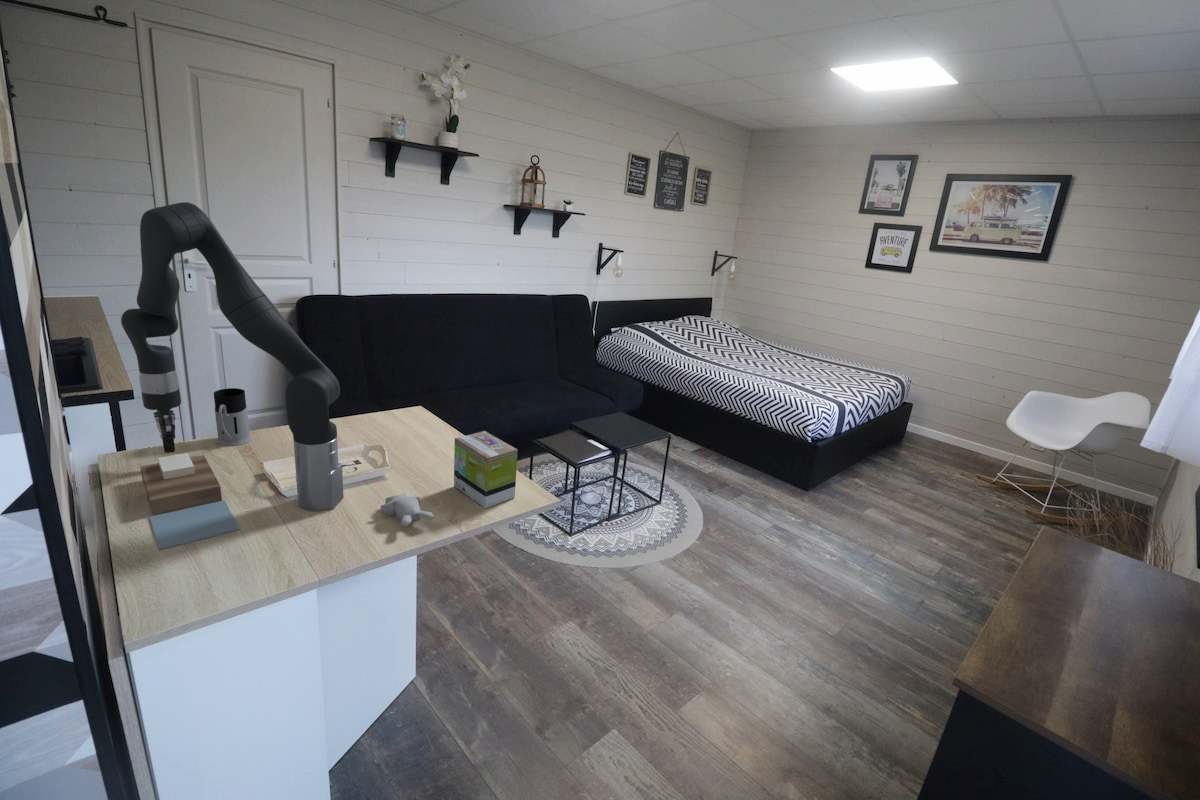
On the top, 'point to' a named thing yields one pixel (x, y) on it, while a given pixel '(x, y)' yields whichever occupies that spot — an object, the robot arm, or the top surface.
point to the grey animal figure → (404, 509)
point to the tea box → (485, 468)
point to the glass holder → (231, 417)
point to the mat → (192, 524)
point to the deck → (180, 487)
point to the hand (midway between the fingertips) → (169, 451)
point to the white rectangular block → (176, 466)
